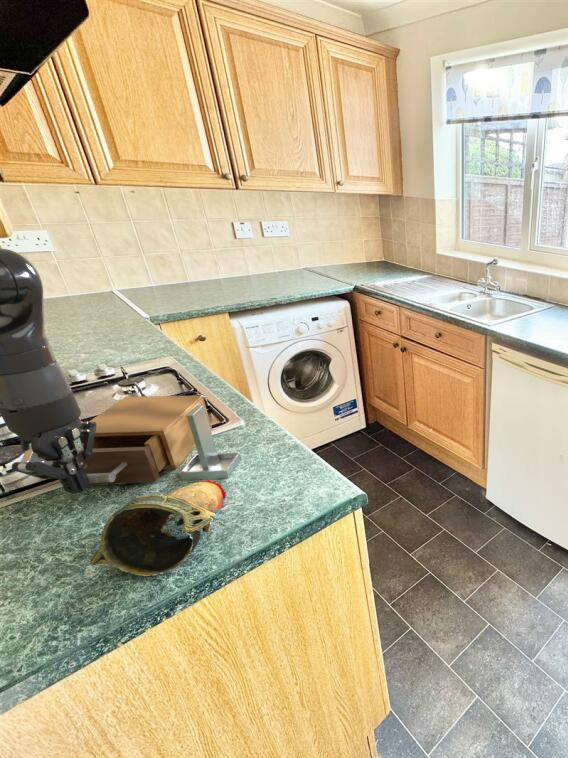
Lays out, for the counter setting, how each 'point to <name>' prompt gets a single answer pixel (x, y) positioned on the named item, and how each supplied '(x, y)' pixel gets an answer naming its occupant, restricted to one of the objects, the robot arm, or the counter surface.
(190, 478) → the inverted t stand
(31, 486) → the counter surface
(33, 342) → the robot arm
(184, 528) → the pot
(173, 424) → the cabinet
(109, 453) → the drawer
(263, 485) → the counter surface
